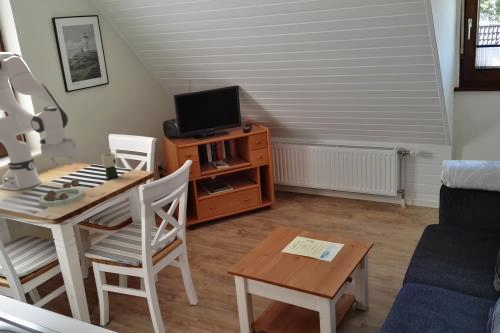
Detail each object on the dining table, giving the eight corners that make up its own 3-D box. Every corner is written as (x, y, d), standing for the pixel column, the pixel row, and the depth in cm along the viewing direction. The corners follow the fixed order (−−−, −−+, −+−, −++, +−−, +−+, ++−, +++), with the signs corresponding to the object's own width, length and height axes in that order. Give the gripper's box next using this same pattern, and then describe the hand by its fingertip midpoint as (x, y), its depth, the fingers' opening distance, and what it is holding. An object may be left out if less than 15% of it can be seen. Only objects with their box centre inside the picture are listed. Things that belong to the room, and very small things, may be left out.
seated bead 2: (45, 203, 248) (43, 195, 247) (50, 200, 252) (48, 192, 251) (51, 203, 247) (49, 195, 246) (57, 200, 251) (55, 193, 249)
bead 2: (70, 187, 273) (68, 180, 272) (75, 184, 276) (73, 177, 275) (76, 187, 271) (75, 180, 270) (81, 184, 275) (79, 177, 274)
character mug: (119, 179, 278) (114, 155, 274) (105, 181, 276) (101, 158, 273) (118, 173, 288) (114, 151, 284) (105, 176, 286) (101, 153, 283)
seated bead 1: (46, 199, 255) (44, 191, 253) (51, 196, 258) (50, 188, 257) (53, 199, 253) (51, 191, 252) (58, 196, 257) (56, 189, 256)
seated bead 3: (58, 202, 248) (56, 194, 247) (63, 199, 251) (62, 191, 250) (65, 202, 246) (63, 195, 245) (70, 199, 250) (68, 192, 249)
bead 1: (61, 190, 268) (60, 183, 267) (66, 188, 272) (65, 181, 271) (68, 191, 267) (66, 183, 266) (73, 188, 270) (71, 181, 269)
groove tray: (30, 207, 248) (28, 202, 247) (59, 191, 267) (58, 187, 266) (65, 208, 241) (64, 203, 240) (93, 192, 260) (92, 187, 259)
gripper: (77, 136, 261) (83, 162, 264) (45, 138, 268) (51, 163, 272) (69, 139, 255) (75, 166, 259) (36, 141, 262) (42, 167, 266)
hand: (62, 165), depth 265 cm, fingers open, 8 cm apart
